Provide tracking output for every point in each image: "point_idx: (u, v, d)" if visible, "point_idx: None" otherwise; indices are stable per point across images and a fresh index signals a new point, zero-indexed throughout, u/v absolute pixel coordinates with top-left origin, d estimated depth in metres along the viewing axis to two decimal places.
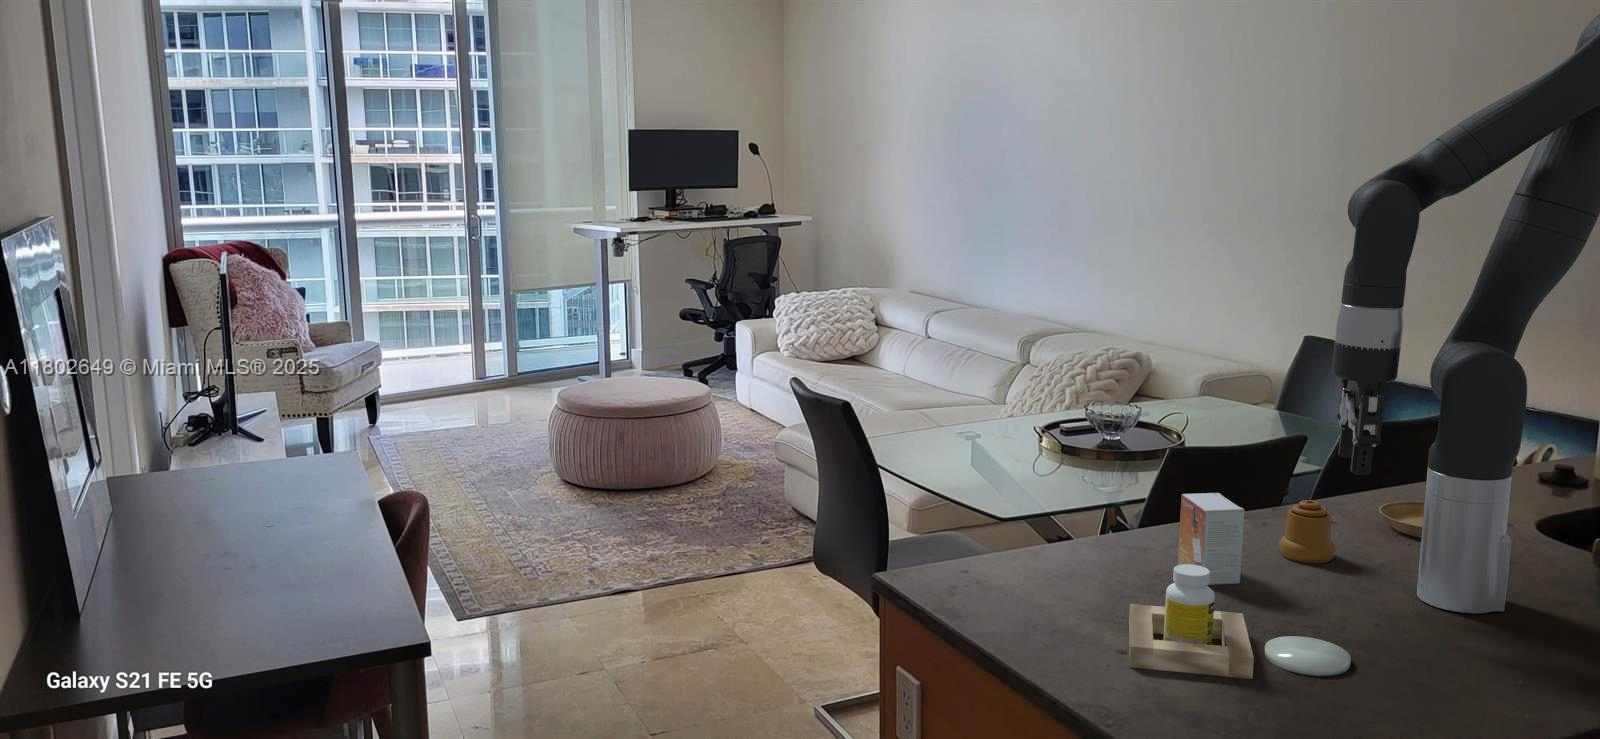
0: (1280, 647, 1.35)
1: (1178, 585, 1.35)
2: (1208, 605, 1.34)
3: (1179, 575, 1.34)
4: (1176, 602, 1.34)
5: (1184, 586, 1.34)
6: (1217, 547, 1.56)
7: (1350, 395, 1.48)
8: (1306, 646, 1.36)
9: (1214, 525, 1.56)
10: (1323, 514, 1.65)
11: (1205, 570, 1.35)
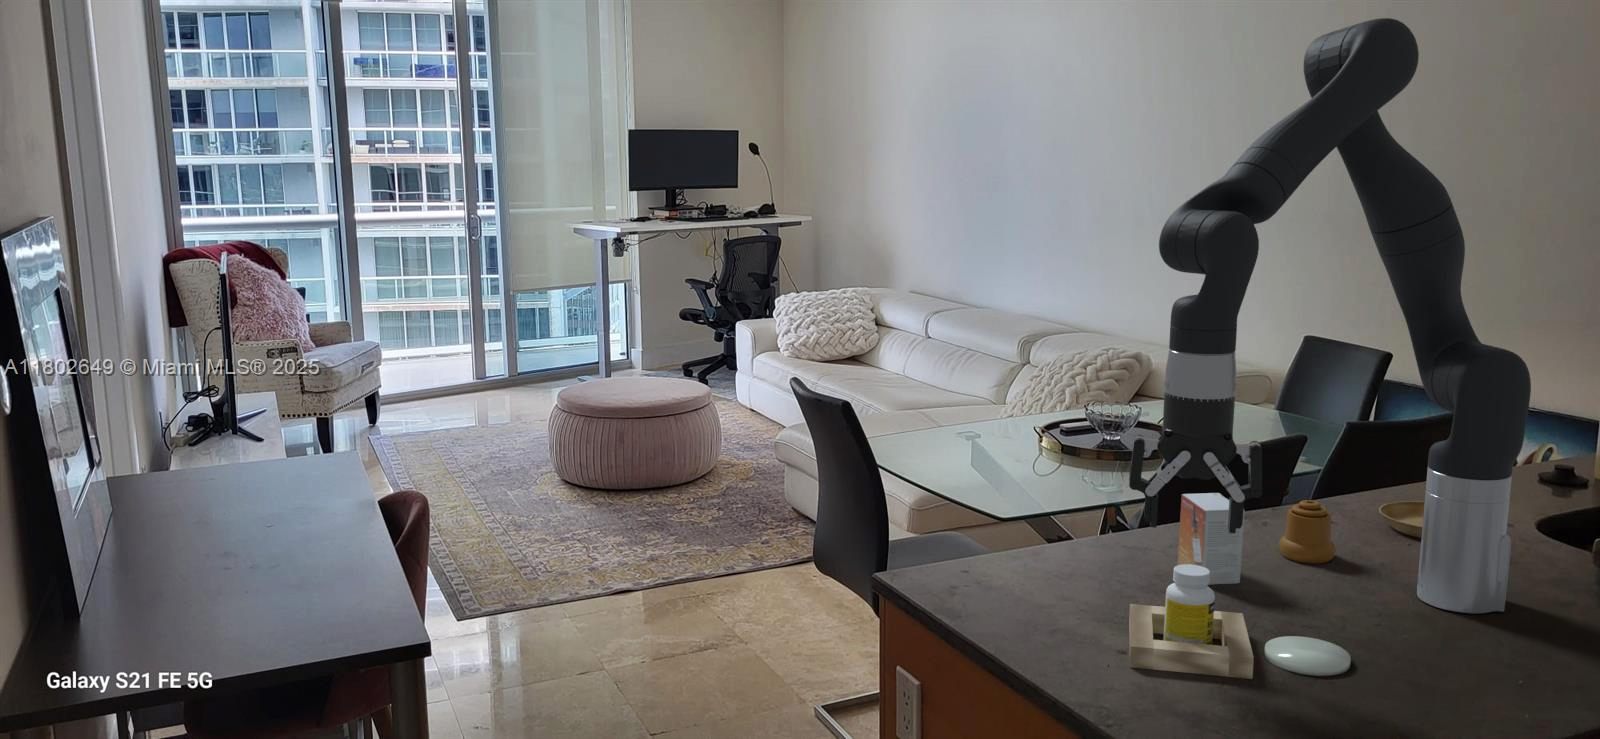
0: (1280, 647, 1.35)
1: (1178, 585, 1.35)
2: (1208, 605, 1.34)
3: (1179, 575, 1.34)
4: (1176, 602, 1.34)
5: (1184, 586, 1.34)
6: (1217, 547, 1.56)
7: (1212, 453, 1.31)
8: (1306, 646, 1.36)
9: (1214, 525, 1.56)
10: (1323, 514, 1.65)
11: (1205, 570, 1.35)
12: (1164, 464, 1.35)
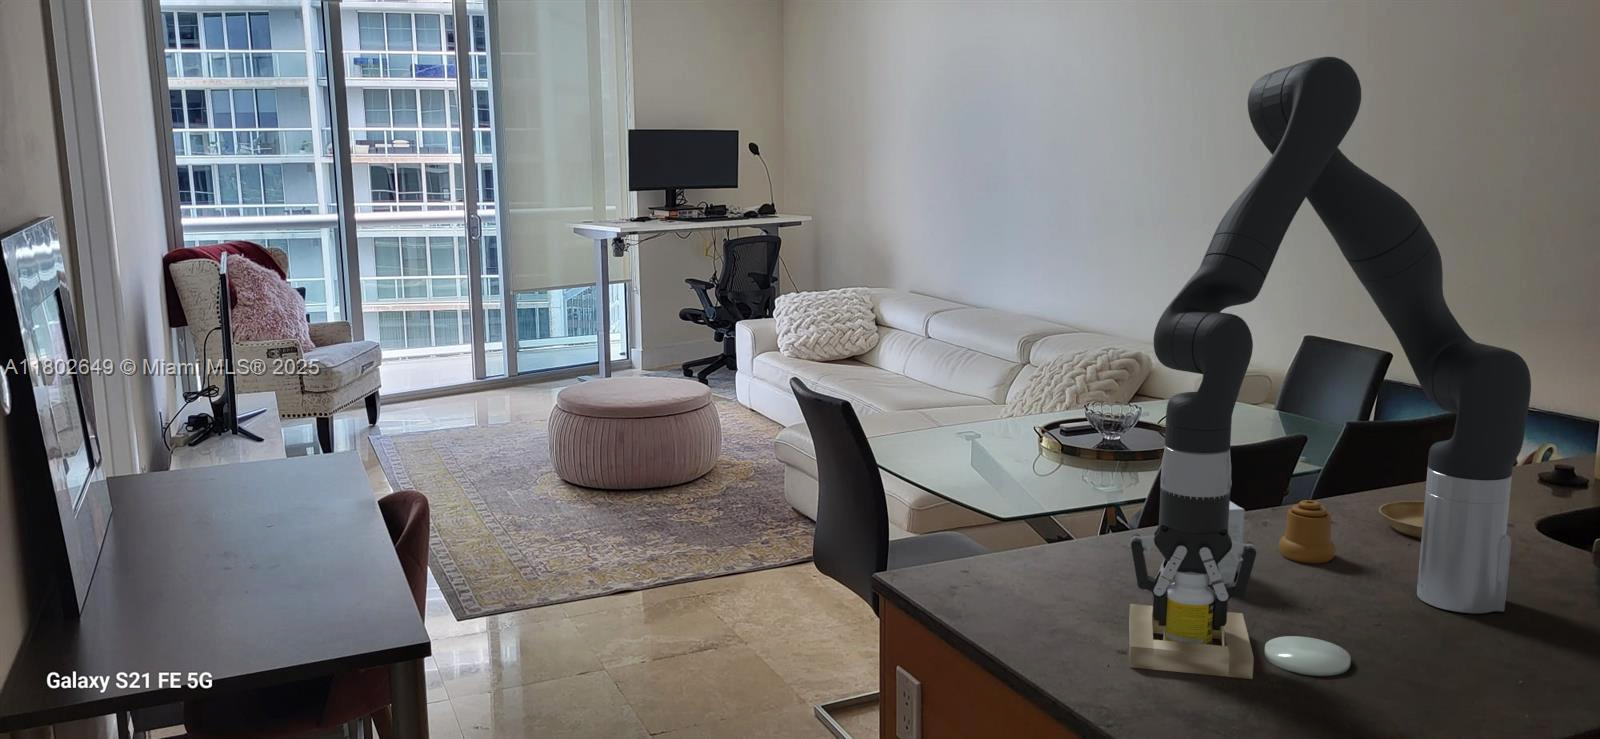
0: (1280, 647, 1.35)
1: (1178, 585, 1.35)
2: (1208, 605, 1.34)
3: (1179, 575, 1.34)
4: (1176, 602, 1.34)
5: (1184, 586, 1.34)
6: None
7: (1209, 549, 1.33)
8: (1306, 646, 1.36)
9: None
10: (1323, 514, 1.65)
11: None
12: (1165, 560, 1.37)
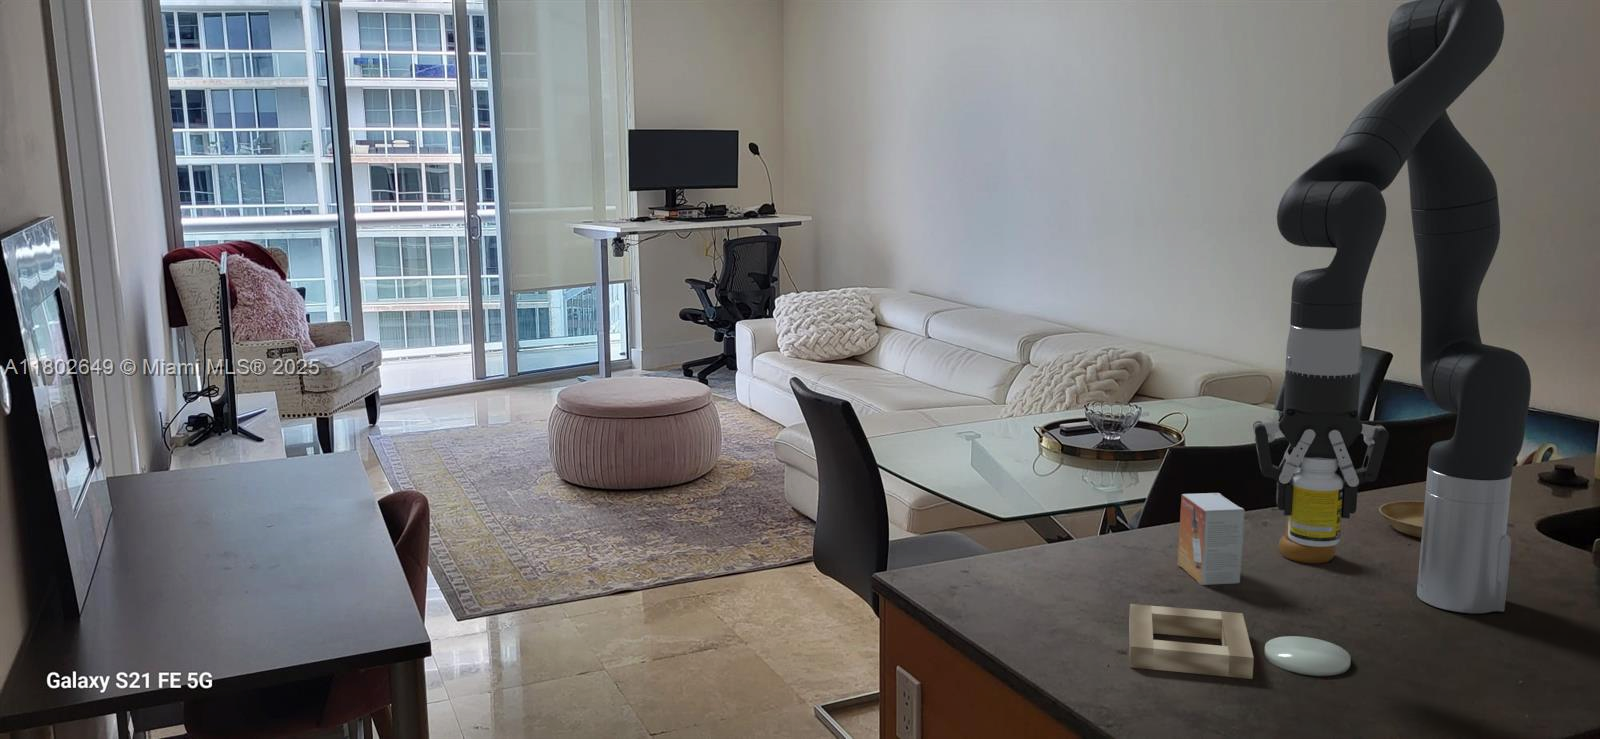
0: (1280, 647, 1.35)
1: (1305, 471, 1.30)
2: (1338, 491, 1.29)
3: (1306, 461, 1.29)
4: (1303, 489, 1.29)
5: (1312, 472, 1.29)
6: (1217, 547, 1.56)
7: (1339, 431, 1.28)
8: (1306, 646, 1.36)
9: (1214, 525, 1.56)
10: None
11: None
12: (1290, 448, 1.32)
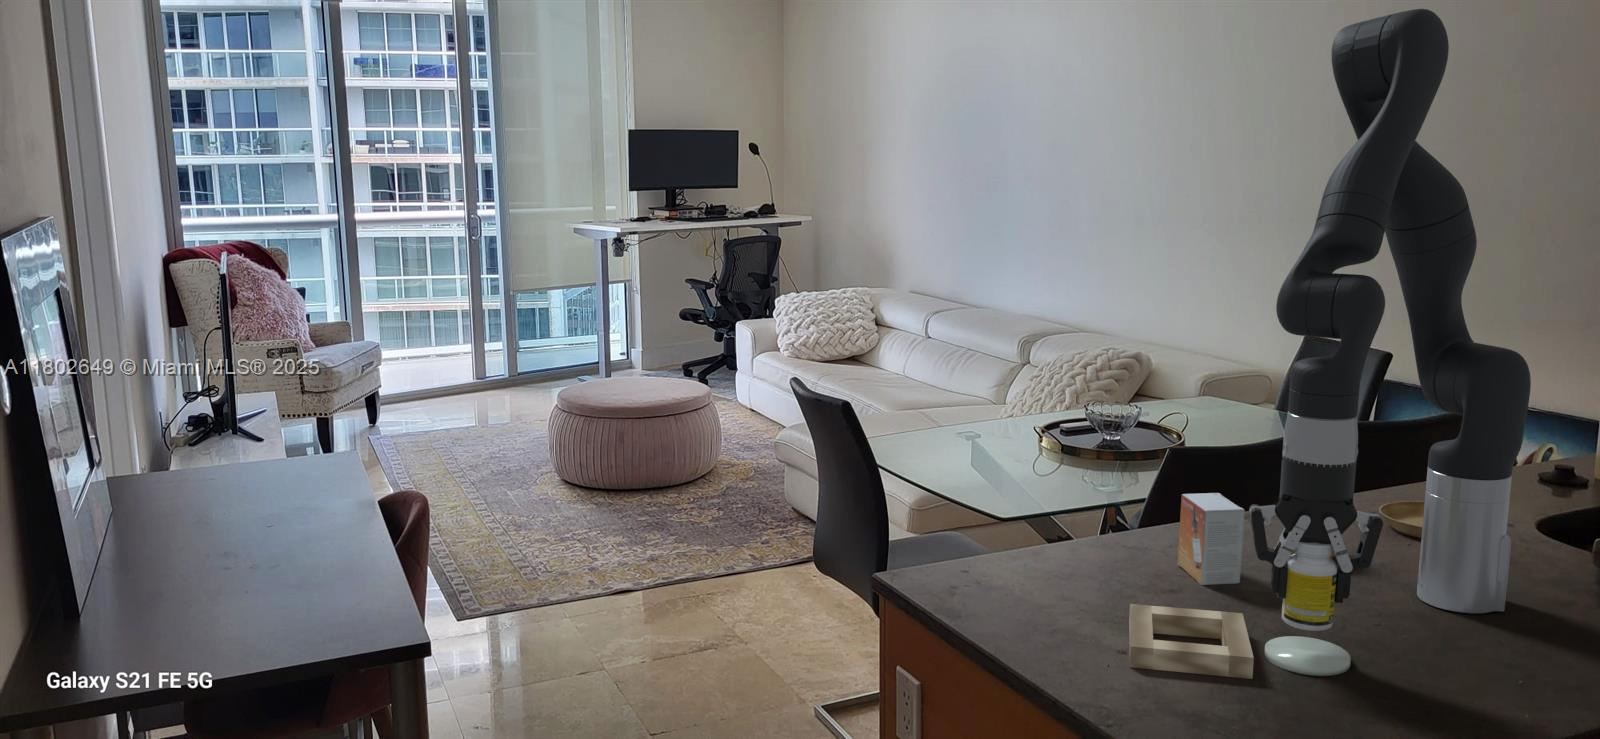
0: (1280, 647, 1.35)
1: (1300, 556, 1.32)
2: (1332, 577, 1.30)
3: (1301, 545, 1.31)
4: (1298, 573, 1.31)
5: (1307, 557, 1.31)
6: (1217, 547, 1.56)
7: (1334, 518, 1.29)
8: (1306, 646, 1.36)
9: (1214, 525, 1.56)
10: None
11: None
12: (1285, 531, 1.34)
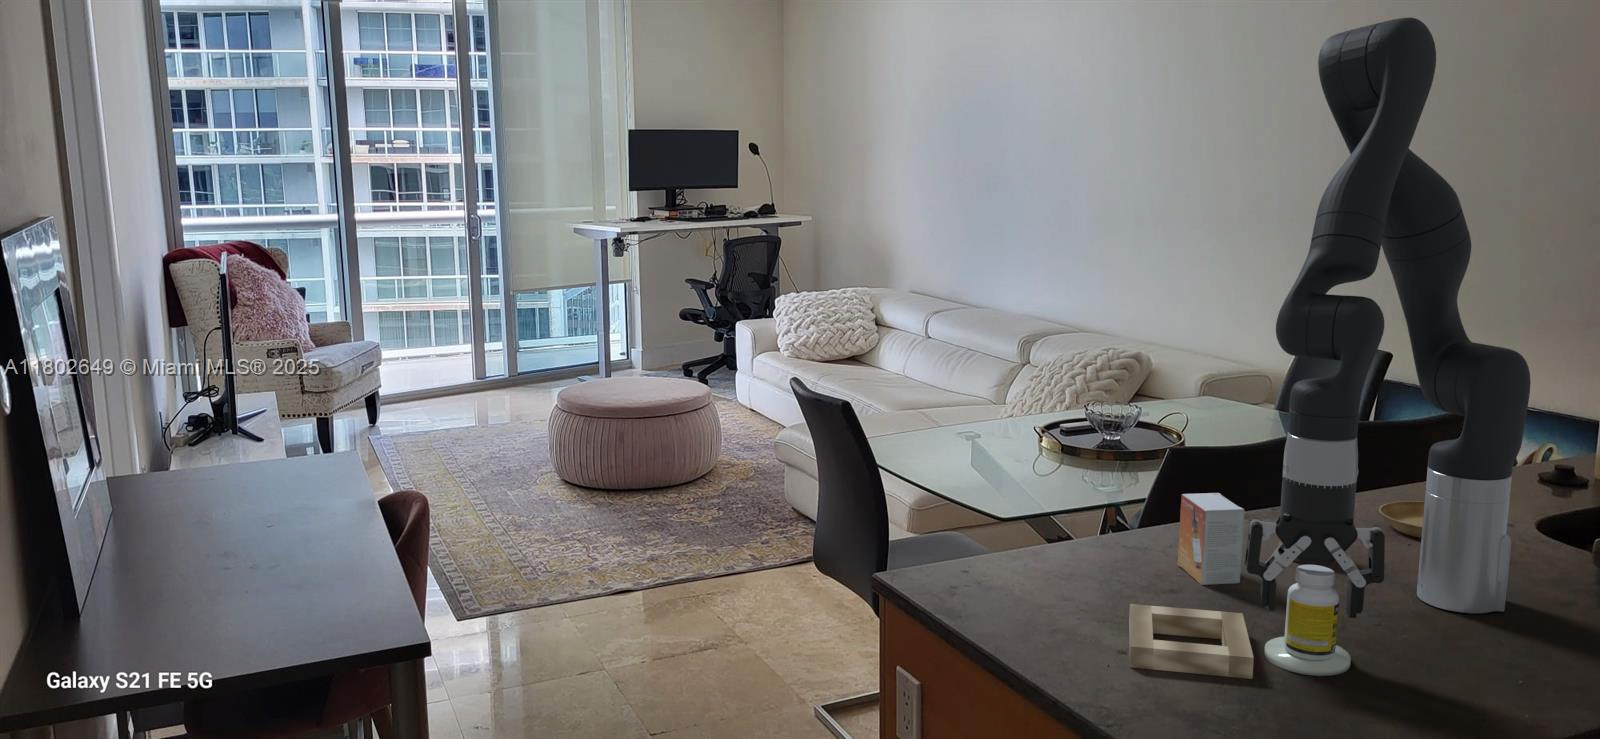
0: (1280, 647, 1.35)
1: (1302, 586, 1.32)
2: (1334, 607, 1.31)
3: (1303, 575, 1.31)
4: (1300, 603, 1.31)
5: (1309, 587, 1.31)
6: (1217, 547, 1.56)
7: (1333, 538, 1.30)
8: None
9: (1214, 525, 1.56)
10: None
11: (1329, 571, 1.32)
12: (1281, 547, 1.34)
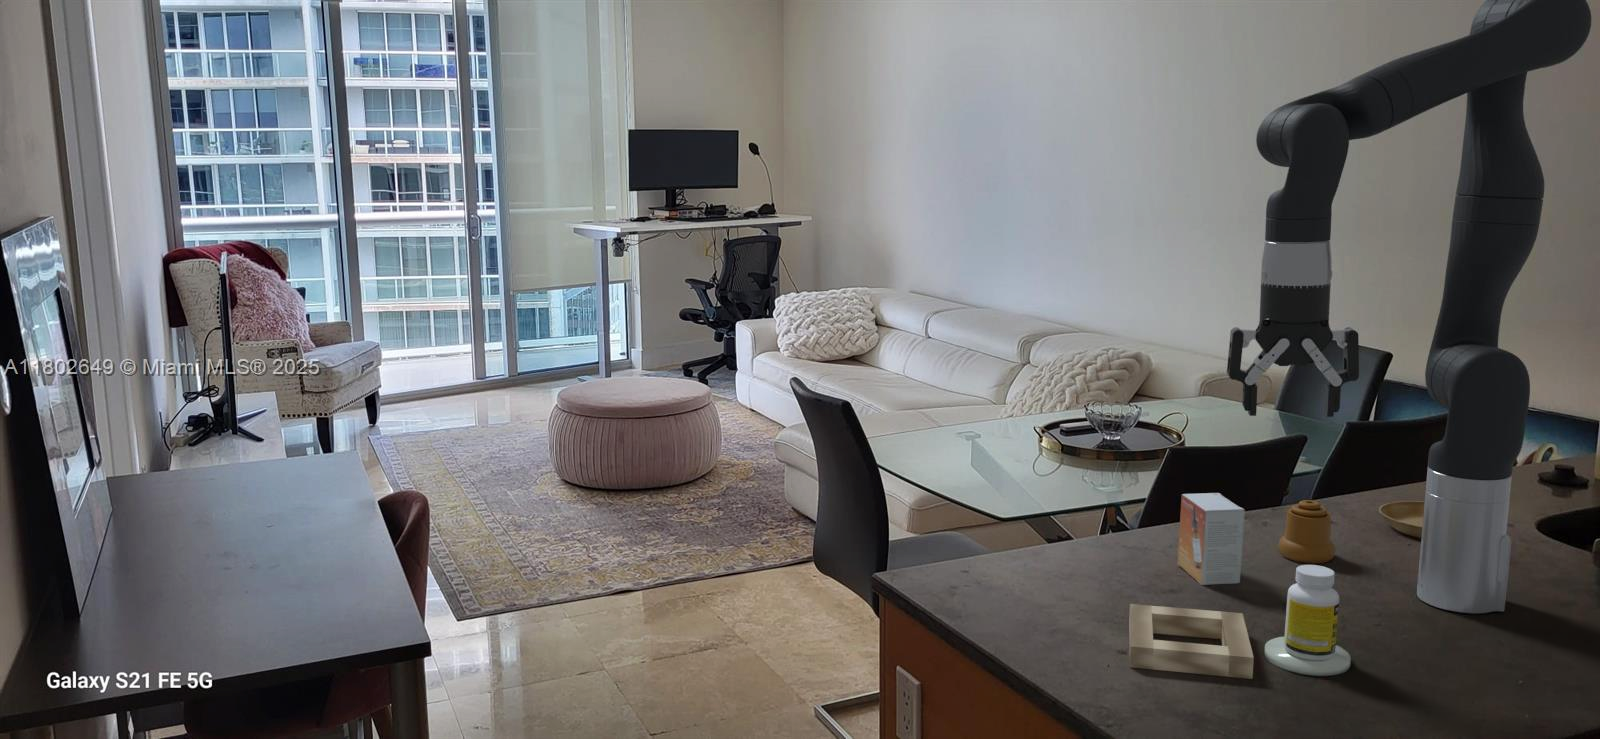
0: (1280, 647, 1.35)
1: (1302, 586, 1.32)
2: (1334, 607, 1.31)
3: (1303, 576, 1.31)
4: (1300, 603, 1.31)
5: (1309, 587, 1.31)
6: (1217, 547, 1.56)
7: (1310, 339, 1.36)
8: None
9: (1214, 525, 1.56)
10: (1323, 514, 1.65)
11: (1329, 571, 1.32)
12: (1261, 355, 1.41)
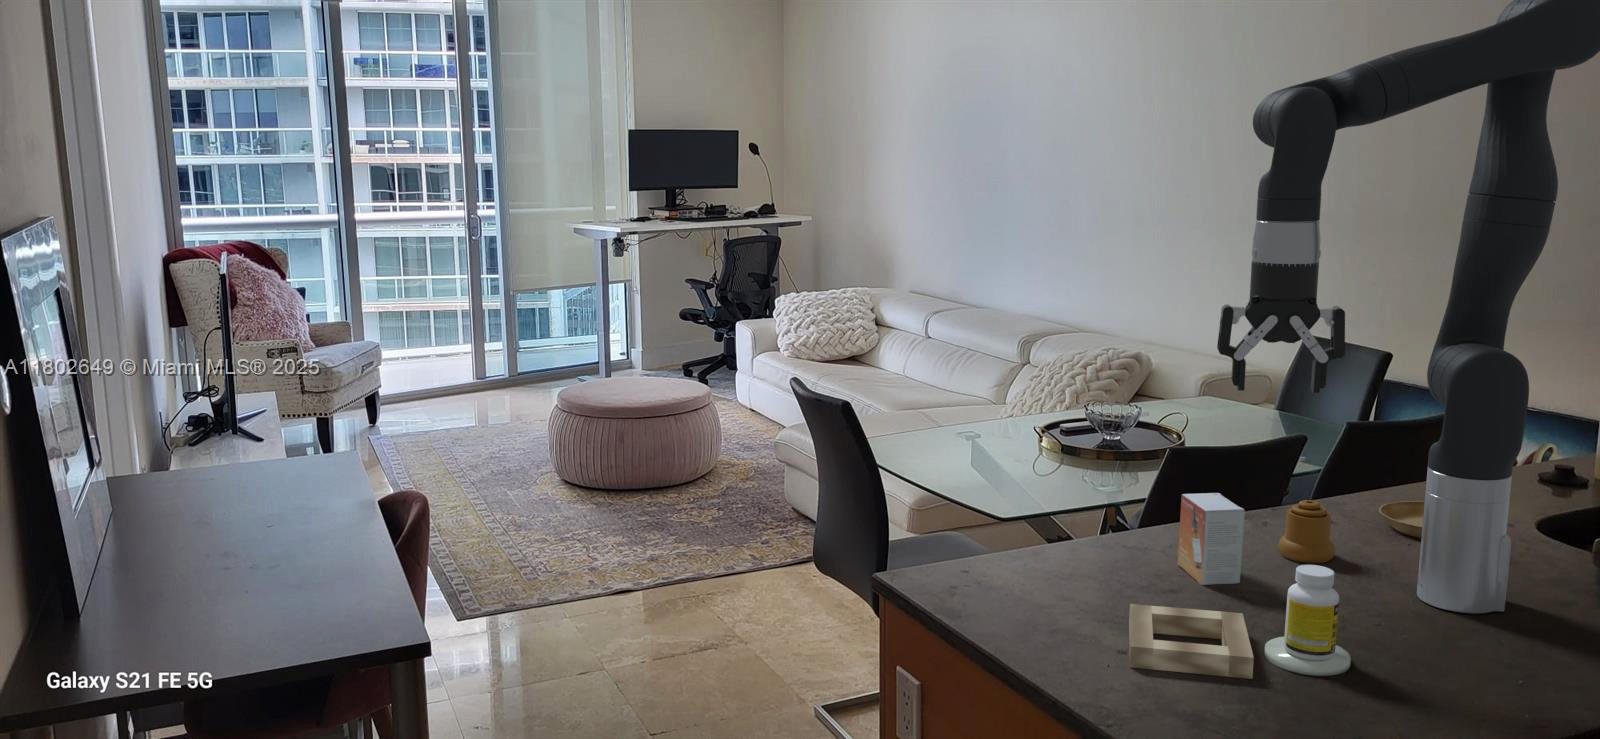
0: (1280, 647, 1.35)
1: (1301, 586, 1.32)
2: (1333, 607, 1.31)
3: (1303, 576, 1.31)
4: (1300, 603, 1.31)
5: (1308, 587, 1.31)
6: (1217, 547, 1.56)
7: (1298, 316, 1.41)
8: None
9: (1214, 525, 1.56)
10: (1322, 514, 1.65)
11: (1329, 571, 1.32)
12: (1250, 331, 1.45)
